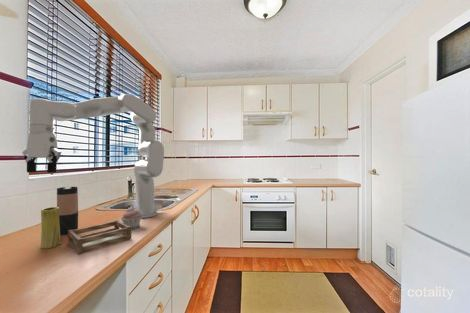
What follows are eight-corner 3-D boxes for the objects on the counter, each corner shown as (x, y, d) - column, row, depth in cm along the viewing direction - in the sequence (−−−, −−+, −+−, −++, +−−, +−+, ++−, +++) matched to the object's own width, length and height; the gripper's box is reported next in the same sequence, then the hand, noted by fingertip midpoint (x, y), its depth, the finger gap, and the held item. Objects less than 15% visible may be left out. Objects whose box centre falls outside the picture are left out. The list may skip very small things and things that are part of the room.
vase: (37, 250, 82) (36, 211, 82) (44, 243, 88) (43, 207, 87) (58, 247, 84) (57, 209, 84) (63, 241, 90) (62, 206, 90)
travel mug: (67, 235, 96) (66, 189, 96) (52, 234, 98) (51, 188, 97) (82, 229, 104) (82, 186, 103) (69, 228, 105) (68, 186, 105)
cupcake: (144, 228, 105) (143, 207, 105) (121, 231, 101) (121, 209, 100) (141, 223, 113) (140, 203, 113) (120, 226, 109) (120, 205, 108)
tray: (117, 231, 101) (117, 219, 101) (131, 239, 92) (131, 226, 92) (68, 243, 88) (67, 230, 88) (78, 254, 78) (77, 239, 78)
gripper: (68, 130, 93) (68, 172, 93) (33, 131, 96) (33, 171, 96) (50, 128, 86) (50, 173, 86) (13, 129, 88) (13, 172, 88)
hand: (41, 172), depth 91 cm, fingers open, 9 cm apart
